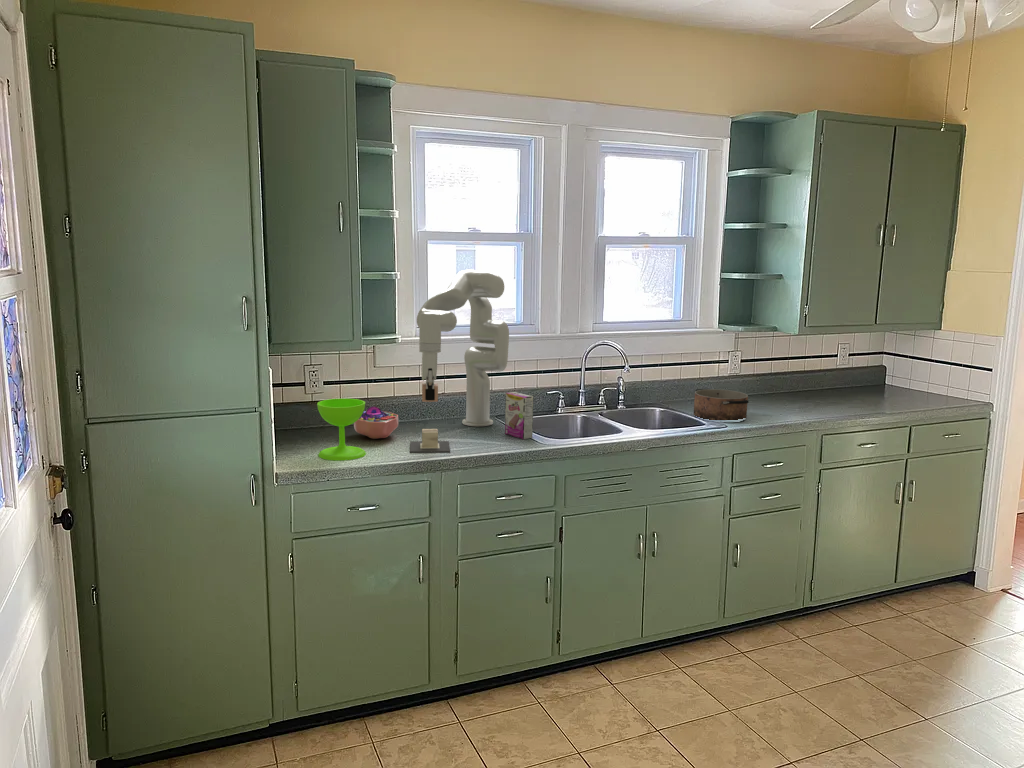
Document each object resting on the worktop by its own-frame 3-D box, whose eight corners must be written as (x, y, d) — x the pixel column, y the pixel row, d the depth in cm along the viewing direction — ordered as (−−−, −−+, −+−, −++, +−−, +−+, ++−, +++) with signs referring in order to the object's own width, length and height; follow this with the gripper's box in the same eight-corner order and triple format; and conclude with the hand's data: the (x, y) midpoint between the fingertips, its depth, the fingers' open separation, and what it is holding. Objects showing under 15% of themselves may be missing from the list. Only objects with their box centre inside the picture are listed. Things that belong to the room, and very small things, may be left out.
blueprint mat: (410, 442, 283) (410, 441, 283) (448, 442, 285) (448, 440, 285) (409, 452, 270) (409, 450, 270) (450, 452, 271) (450, 450, 271)
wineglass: (357, 446, 277) (357, 397, 274) (372, 457, 263) (371, 405, 260) (313, 451, 269) (311, 400, 266) (325, 462, 255) (324, 409, 252)
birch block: (422, 443, 280) (422, 428, 279) (437, 443, 280) (437, 428, 279) (422, 447, 274) (422, 432, 273) (437, 447, 275) (437, 432, 274)
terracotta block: (422, 398, 277) (422, 383, 276) (437, 398, 277) (437, 383, 276) (422, 401, 271) (422, 386, 270) (437, 401, 272) (437, 386, 271)
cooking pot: (678, 412, 348) (679, 388, 347) (719, 409, 357) (721, 386, 355) (719, 427, 321) (721, 401, 319) (763, 423, 329) (765, 398, 327)
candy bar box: (503, 434, 300) (504, 392, 297) (513, 432, 303) (514, 391, 300) (523, 440, 291) (524, 397, 288) (533, 438, 295) (534, 395, 292)
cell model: (355, 445, 279) (354, 414, 277) (350, 432, 298) (349, 403, 296) (402, 442, 284) (401, 412, 282) (394, 430, 302) (394, 401, 300)
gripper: (419, 344, 279) (419, 394, 282) (419, 350, 262) (419, 403, 265) (440, 344, 280) (439, 394, 283) (441, 350, 263) (441, 403, 266)
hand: (429, 397), depth 274 cm, fingers closed on terracotta block, 5 cm apart
